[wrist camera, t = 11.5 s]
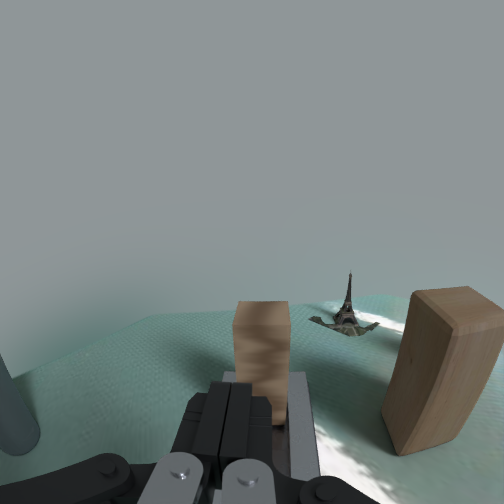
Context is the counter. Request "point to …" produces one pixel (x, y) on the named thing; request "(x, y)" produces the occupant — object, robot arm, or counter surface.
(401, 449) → the wooden block
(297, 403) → the chute
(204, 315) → the counter surface
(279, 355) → the block
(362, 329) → the eiffel tower figurine
